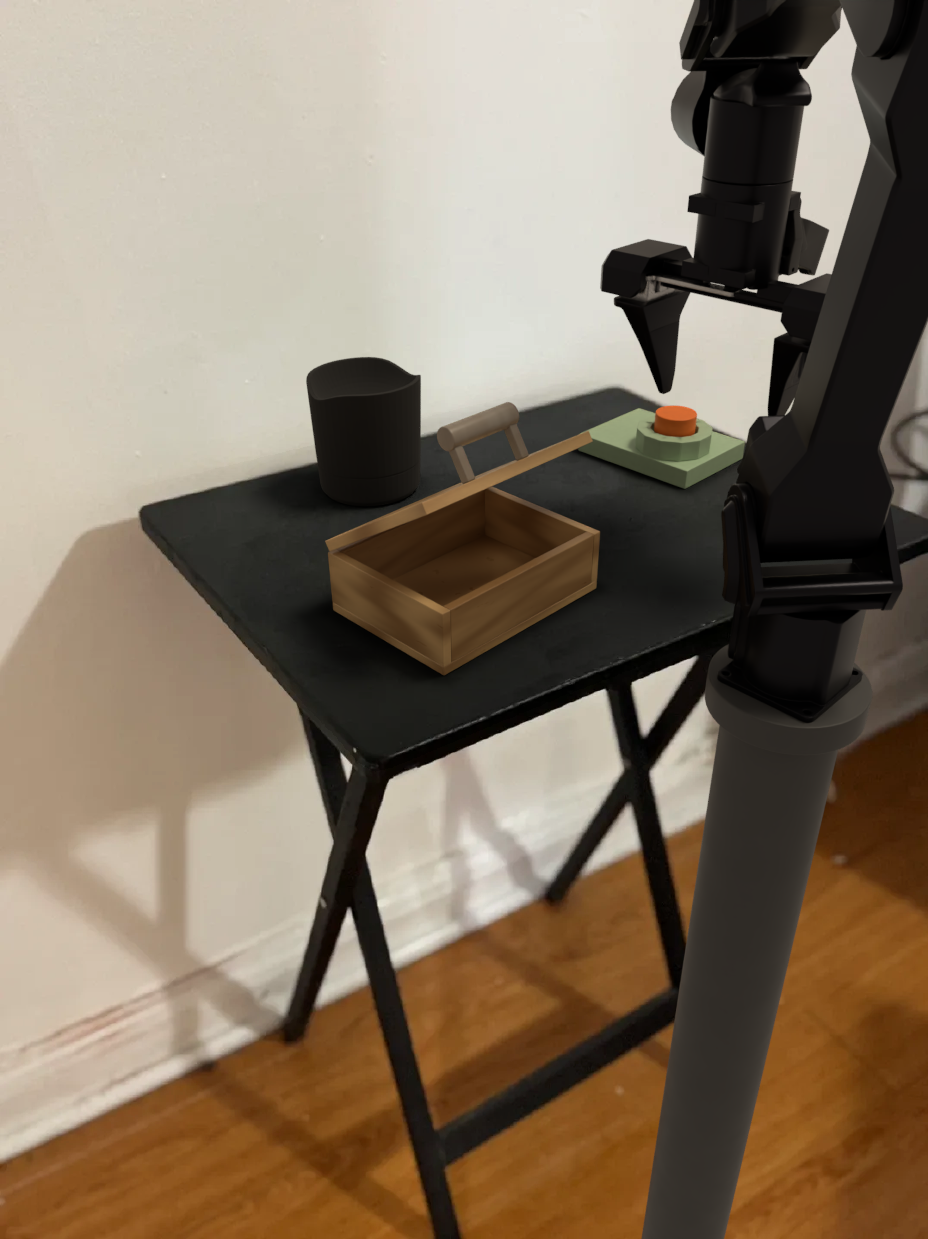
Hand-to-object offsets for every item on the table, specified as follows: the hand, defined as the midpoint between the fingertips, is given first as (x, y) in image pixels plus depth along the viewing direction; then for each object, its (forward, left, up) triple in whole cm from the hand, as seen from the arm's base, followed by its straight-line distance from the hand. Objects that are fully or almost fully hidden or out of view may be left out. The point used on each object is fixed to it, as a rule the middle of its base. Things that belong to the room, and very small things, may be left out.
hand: (717, 407), depth 75 cm
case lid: (+8, +19, -3) cm, 20 cm away
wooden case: (+7, +19, -11) cm, 23 cm away
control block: (+13, -12, -11) cm, 21 cm away
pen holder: (+27, +11, -11) cm, 31 cm away
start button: (+11, -11, -8) cm, 17 cm away
